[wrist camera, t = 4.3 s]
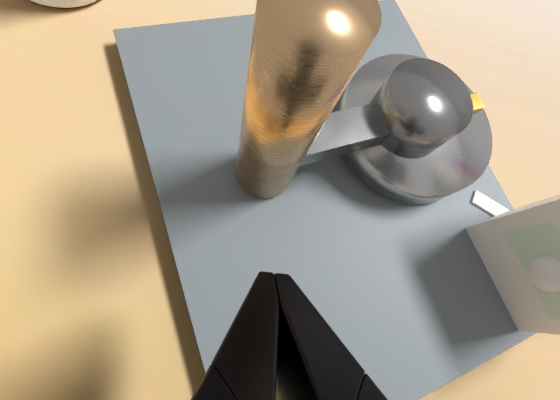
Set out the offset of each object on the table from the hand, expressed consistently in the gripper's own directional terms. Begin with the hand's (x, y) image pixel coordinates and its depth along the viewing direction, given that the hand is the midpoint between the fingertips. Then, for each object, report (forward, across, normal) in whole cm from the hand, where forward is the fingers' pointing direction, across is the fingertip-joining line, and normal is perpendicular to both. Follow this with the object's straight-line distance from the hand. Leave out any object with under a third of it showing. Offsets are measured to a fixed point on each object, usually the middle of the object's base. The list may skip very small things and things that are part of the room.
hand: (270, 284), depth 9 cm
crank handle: (+11, -6, -2) cm, 12 cm away
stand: (+10, -5, 0) cm, 11 cm away
